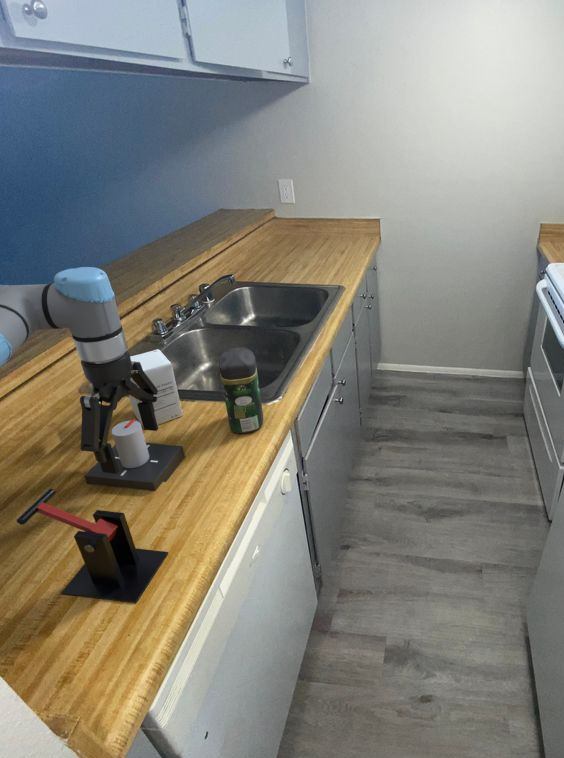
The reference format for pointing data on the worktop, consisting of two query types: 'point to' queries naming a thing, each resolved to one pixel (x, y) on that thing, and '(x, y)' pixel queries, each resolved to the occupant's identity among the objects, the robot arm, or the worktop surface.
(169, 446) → the dial panel
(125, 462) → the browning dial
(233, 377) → the coffee jar
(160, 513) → the worktop surface
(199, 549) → the worktop surface
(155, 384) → the white product box
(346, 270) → the worktop surface
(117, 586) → the black lever stand
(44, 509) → the red lever
